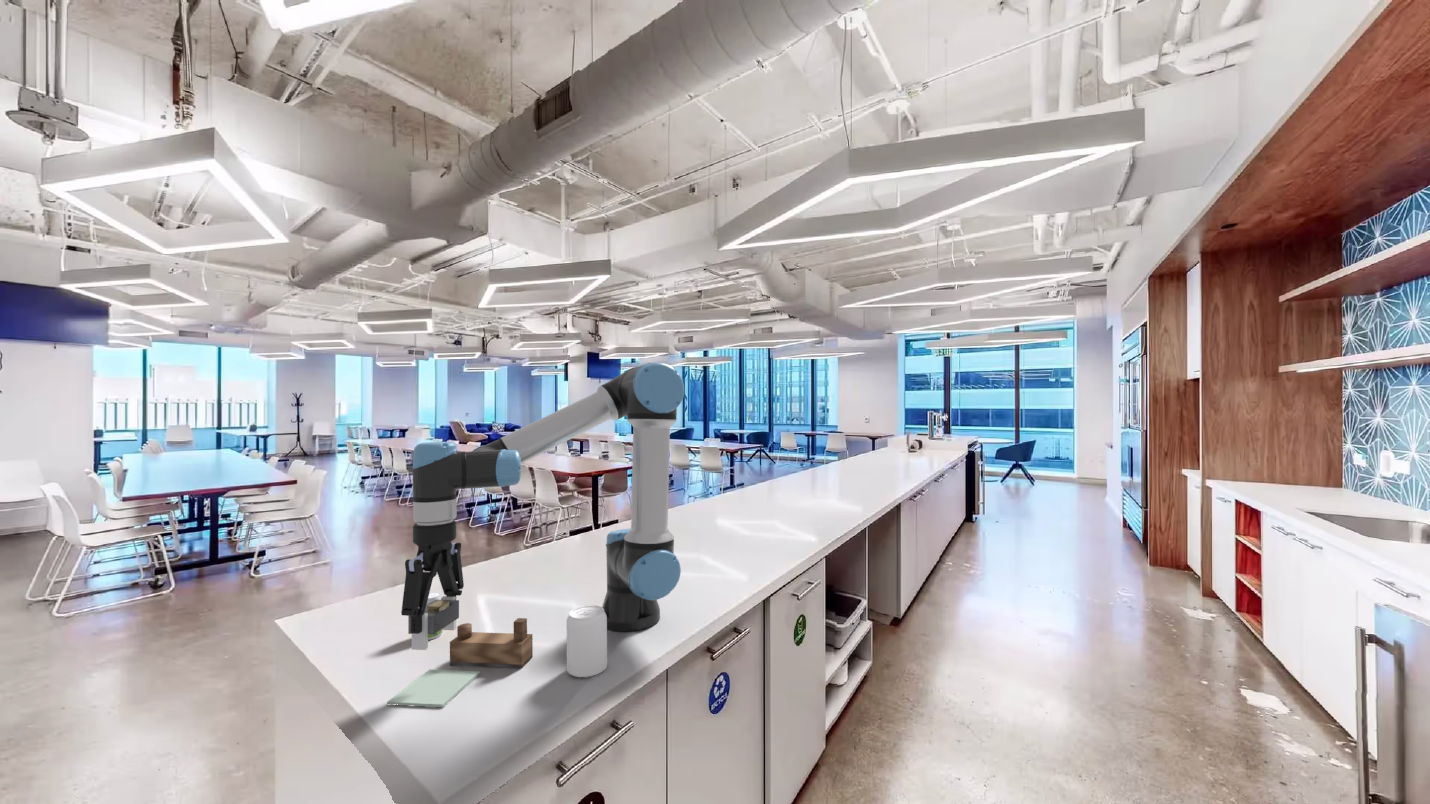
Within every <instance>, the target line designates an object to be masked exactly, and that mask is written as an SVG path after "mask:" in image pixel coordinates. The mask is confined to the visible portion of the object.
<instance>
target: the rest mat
mask: <svg viewBox="0 0 1430 804" xmlns="http://www.w3.org/2000/svg"><path fill="white" fill-rule="evenodd" d="M479 676H481V672H480V671H479V670H478V671H477V670H457V669H456V670H452V669H431V668H430V669H428V670H427V671H425V672H424V673H422V674H421V675H420V676H419V677H418V678H416V679H415V680H414V681H413V682H412V683H410V684H408V685H407V686H406V687H405V688H403V689H402V690H401V691H399V692H398V693H396V694H395V695H394V696H393V697H391V698H390V699H389V700H388V701H387V702H386V705H387V704H396V705H397V704H398V705H414V706H413V707H415V706H425V707H424V708H436V707H443V708H445V707H446V706H447V705H448V704H449V703H450V702H451V701H452V700H453V699H454V698H456V697H457V696H458V695H459V694H460V693H461V692H462V691H463V690H464V689H465V688H466V686H467V687H468V686H469V685H470V684H471V683H473V681H474V680H475V679H476V678H479ZM456 695H457V696H456ZM451 699H452V700H451ZM449 701H450V702H449ZM448 702H449V703H448ZM447 703H448V704H447ZM446 704H447V705H446ZM445 705H446V706H445ZM444 706H445V707H444Z"/></svg>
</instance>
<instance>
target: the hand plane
mask: <svg viewBox="0 0 1430 804" xmlns="http://www.w3.org/2000/svg"><path fill="white" fill-rule="evenodd" d="M472 627H473V626H472V623H468V622H466V623H462V624H459V625H458V626H456V629H457V630H456V632H457V634H456V635H457V636H456V637H454V638H453V639H451V640H450V641H449V666H453V667H474V668H475V667H477V668H479V667H480V668H499V669H500V668H502V669H523V668H524V666H525V667H526V665H527V663H529V662H530V661H531V659H532V658H533V657H534V656H533V655H534V650H533V648H534V647H533V645H534V644H533V633H528V618H525V617H517V618H516V619H515V620H513V633H505V632H482V631H481V632H480V631H479V632H478V631H475V632H474V631H473V629H472Z"/></svg>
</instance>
